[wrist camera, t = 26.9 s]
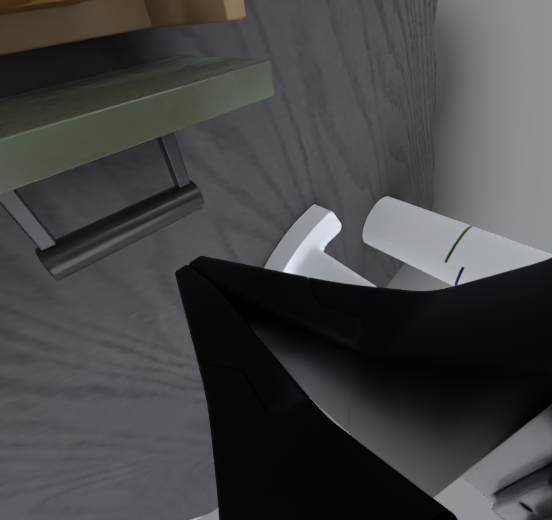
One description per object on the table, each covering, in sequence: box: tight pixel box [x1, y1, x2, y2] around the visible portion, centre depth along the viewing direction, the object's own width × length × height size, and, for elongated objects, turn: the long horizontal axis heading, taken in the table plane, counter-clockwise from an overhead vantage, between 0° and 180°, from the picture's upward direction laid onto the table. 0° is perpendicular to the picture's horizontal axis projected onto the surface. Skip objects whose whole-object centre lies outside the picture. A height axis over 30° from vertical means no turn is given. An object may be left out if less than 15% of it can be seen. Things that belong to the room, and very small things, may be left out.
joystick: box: [264, 204, 376, 287], centre depth 26 cm, size 11×8×20 cm
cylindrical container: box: [362, 196, 552, 286], centre depth 34 cm, size 7×7×25 cm
